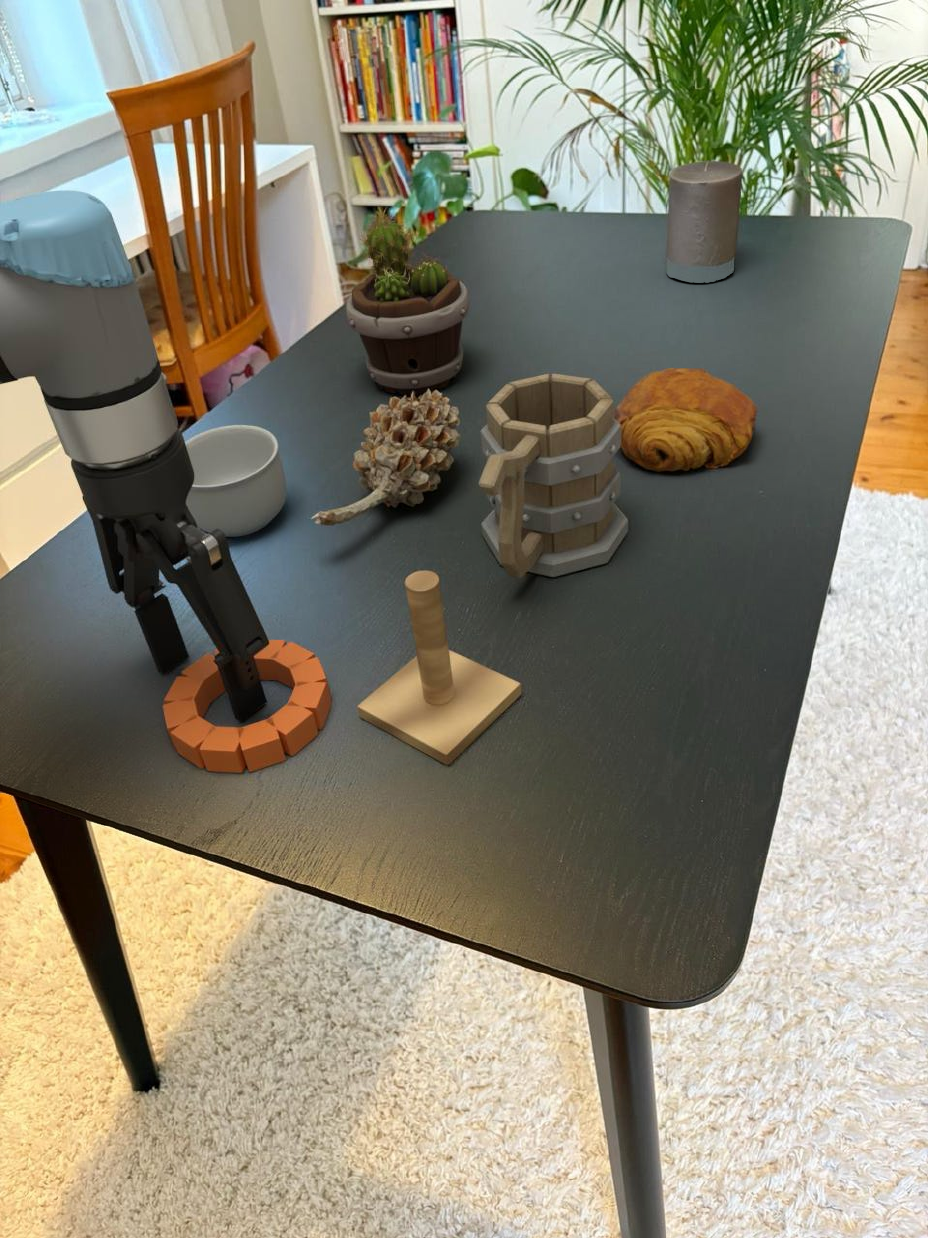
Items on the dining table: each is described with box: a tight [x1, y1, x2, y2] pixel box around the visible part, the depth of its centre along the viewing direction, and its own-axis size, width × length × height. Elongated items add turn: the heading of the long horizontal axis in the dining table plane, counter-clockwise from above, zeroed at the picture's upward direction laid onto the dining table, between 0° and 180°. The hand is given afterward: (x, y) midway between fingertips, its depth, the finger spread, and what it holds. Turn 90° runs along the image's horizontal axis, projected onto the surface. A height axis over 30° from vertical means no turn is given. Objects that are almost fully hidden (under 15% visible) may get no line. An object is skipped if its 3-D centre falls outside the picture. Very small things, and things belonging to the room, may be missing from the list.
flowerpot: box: [345, 205, 470, 396], centre depth 115 cm, size 14×15×20 cm
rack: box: [356, 570, 522, 766], centre depth 72 cm, size 9×9×12 cm
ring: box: [162, 638, 332, 774], centre depth 76 cm, size 12×12×2 cm
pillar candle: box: [666, 160, 743, 267], centre depth 135 cm, size 10×10×15 cm
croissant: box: [613, 367, 759, 473], centre depth 101 cm, size 14×16×8 cm
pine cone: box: [310, 388, 462, 527], centre depth 95 cm, size 22×10×10 cm, turn 155°
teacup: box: [185, 424, 288, 538], centre depth 97 cm, size 14×11×8 cm
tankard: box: [478, 373, 629, 579], centre depth 85 cm, size 20×13×15 cm, turn 152°
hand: (211, 686), depth 79 cm, fingers open, 9 cm apart
